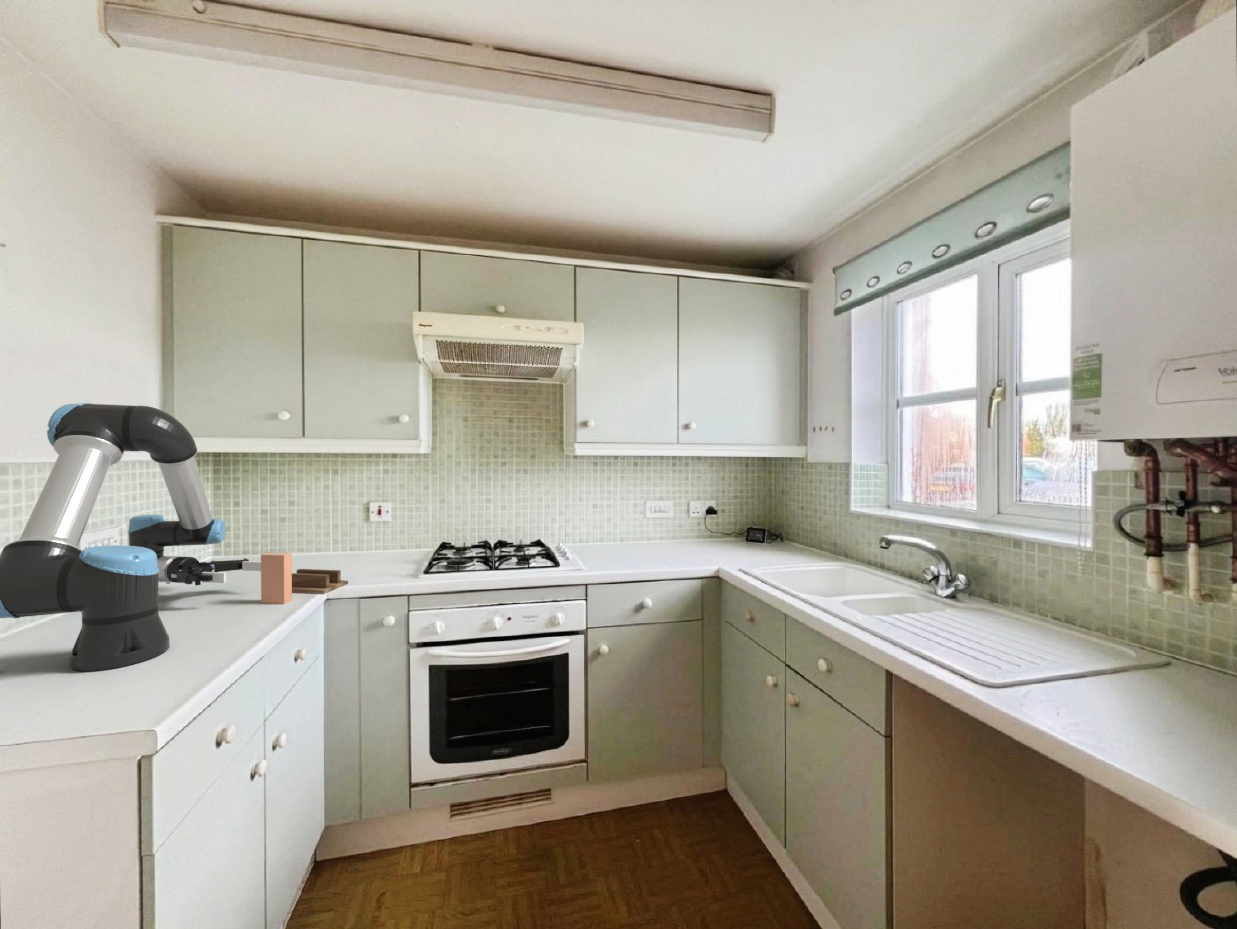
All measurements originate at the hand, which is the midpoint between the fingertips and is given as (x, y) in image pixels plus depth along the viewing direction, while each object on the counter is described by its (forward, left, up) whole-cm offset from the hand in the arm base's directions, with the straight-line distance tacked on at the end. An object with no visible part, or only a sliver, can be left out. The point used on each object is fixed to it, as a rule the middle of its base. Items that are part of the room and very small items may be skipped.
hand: (245, 571), depth 146 cm
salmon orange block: (-3, -9, -8) cm, 13 cm away
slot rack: (+12, -13, -8) cm, 20 cm away
